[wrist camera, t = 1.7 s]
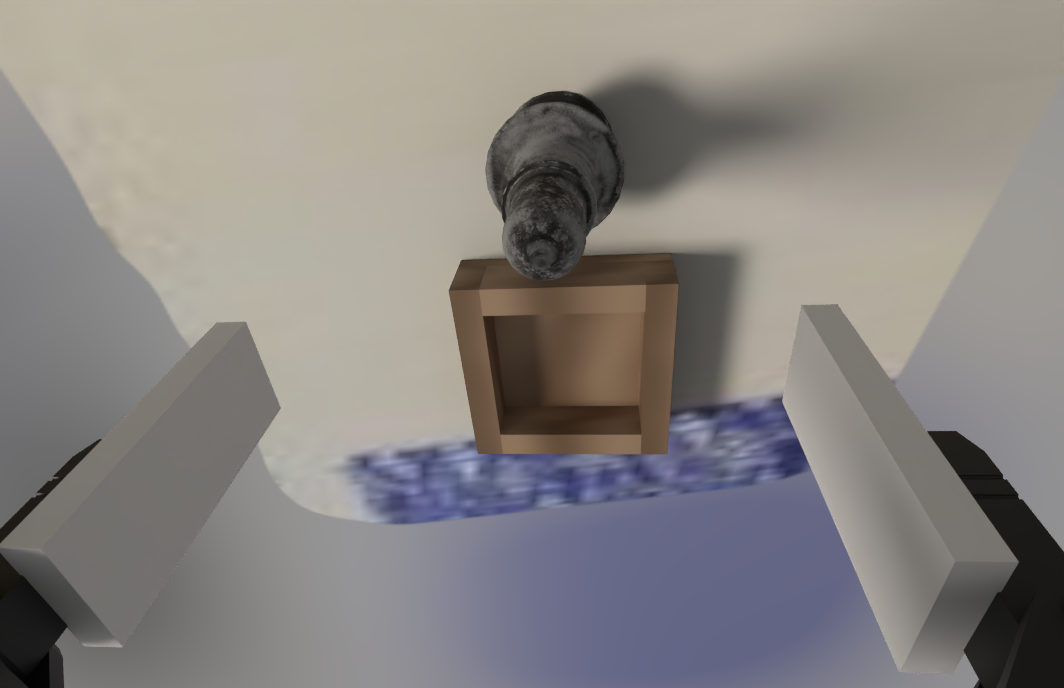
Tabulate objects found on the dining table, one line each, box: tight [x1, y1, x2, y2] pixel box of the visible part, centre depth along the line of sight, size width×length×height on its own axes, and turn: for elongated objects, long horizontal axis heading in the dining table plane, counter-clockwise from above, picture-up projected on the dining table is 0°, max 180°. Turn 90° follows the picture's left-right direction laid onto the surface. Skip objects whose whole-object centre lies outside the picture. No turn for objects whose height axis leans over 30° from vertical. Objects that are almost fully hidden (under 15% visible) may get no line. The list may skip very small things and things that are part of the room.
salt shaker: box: [485, 91, 624, 281], centre depth 23 cm, size 6×6×12 cm
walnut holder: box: [449, 253, 679, 454], centre depth 33 cm, size 11×11×3 cm
